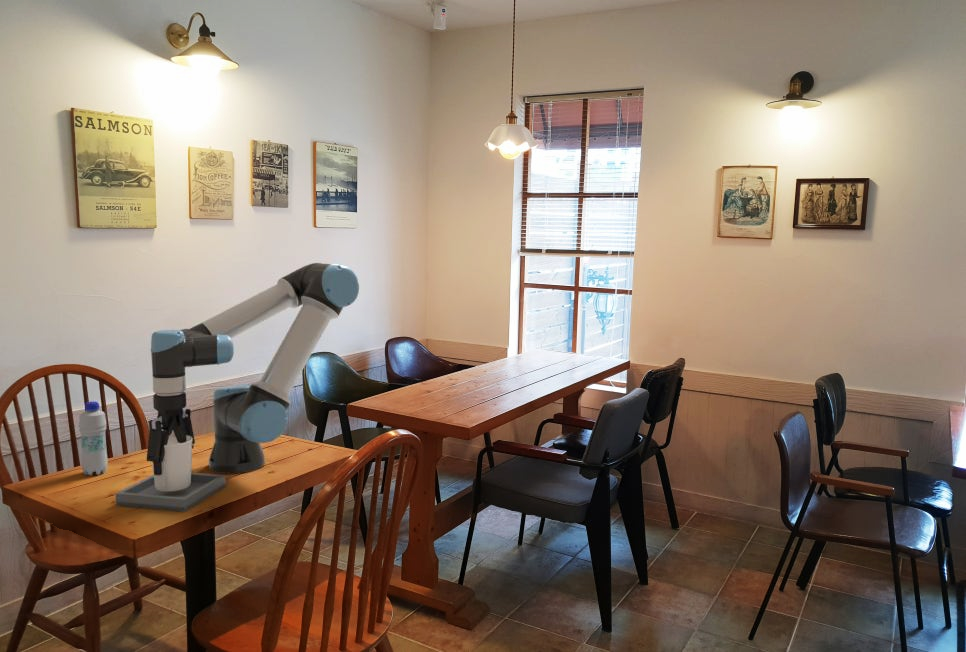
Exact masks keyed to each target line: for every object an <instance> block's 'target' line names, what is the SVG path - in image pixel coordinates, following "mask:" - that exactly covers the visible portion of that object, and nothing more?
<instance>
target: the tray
mask: <svg viewBox="0 0 966 652" xmlns="http://www.w3.org/2000/svg"><path fill="white" fill-rule="evenodd" d="M226 477H227V476H226V475H225V474H215V473H214V474H213V473H212V474H211V473H200V472H191V484H190V486H189V487H187V488H185V489H182V490H178V491H171V492H164V491H158V490H156V488H155V484H154V475H153V474H152V475H150V476H148V477H146V478H144V479H141V480H139V481H137V482H136V483H134V484H132V485H130V486H128V487H125V488H123V489H121V490H120V491H117V492H116V493H115V506H116V507H118V506H119V507H129V508H137V509H138V508H140V509H150V510H160V511H161V510H162V511H171V512H182V513H186V512H187V511H189V510H190V509H192V508H194V507H195V506H197V505H199V504H200V503H202V502H203V501H205V500H206V499H208V498H210V497H211V496H213V495H214V494H217V493H218V492H219V491H221V490H223V489H224V488H226V486H227V483H226V482H227V480H226V479H227V478H226ZM201 501H202V502H201Z"/></svg>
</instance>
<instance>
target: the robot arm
mask: <svg viewBox="0 0 966 652" xmlns="http://www.w3.org/2000/svg"><path fill="white" fill-rule="evenodd" d="M359 290H360V283H359V279H358V276H357V275H356V273H355V272H354V271H353V270H352V269H351V268H350V267H348V266H346V265H342V264H339V263H323V262H322V263H321V262H314V263H309V264H307V265H304V266H302V267H300V268H298V269H296V270H294V271H291V272H290V273H289V274H286V275H284V276H282V277H281V278H279V279H278V280H277V283H276V284H275V285H273V286H271V287H268V288H267V289H265V290H263V291H261V292H259V293H257V294H255V295H253V296H251V297H249V298H247V299H246V300H243V301H242V302H240V303H238V304H235V305H234V306H231V307H229V308H228V309H226V310H224V311H222V312H219V313H218V314H216V315H215V316H212V317H210V318H209V319H206V320H205V321H202V322H201V323H198V324H196V325H194V326H192V327H190V328H182V329H161V330H157V331H154V332H153V333H152V334H151V338H150V339H151V340H150V353H151V355H150V356H151V367H152V368H151V370H152V391H153V393H154V394H153V395H152V403H153V409H154V410H156V411H157V415H156V416H157V417H156V419H154V420H153V419H150V420H149V421H148V426H149V432H148V443H147V449H146V450H147V451H146V462H151V463H152V462H153V465H152V469H153V468H154V479H155V487H162V488H165V487H167V483H166V461H163V459H164V455H165V449H164V445H167V443H168V439H169V435H175V436H176V439H177V441H178V442H179V443H185V442H186V435H187V436H191V437H192V439H193V440H192V450H193V449H194V447H195V446H194V445H195V444H196V440H195V434H194V429H193V424H192V419H191V413H192V412H191V409H190V408H186V407H187V393H186V392H185V391H186V390H187V384H186V383H187V381H186V368H191V367H199V366H203V367H204V366H213V365H217V366H218V365H221V364H227V363H230V362H231V361H232V359H233V357H234V353H235V352H234V350H235V349H234V348H235V347H234V344H233V343H234V342H233V340H232V339H234V337H237V336H238V335H240V334H242V333H243V332H246V331H247V330H249V329H252V328H253V327H256V326H257V325H259V324H261V323H262V322H263V323H264V321H266V320H268V319H271V318H272V317H274V316H275V315H277V314H279V313H281V312H283V311H285V310H287V309H289V308H292V309H297V308H298V307H300V306H301V308H300V310H299V311H298V313H297V315H296V316H295V318H294V320H293V322H292V324H291V325H290V327H289V328H288V331H287V333H286V335H285V336H284V337H283V339H282V342H281V343H280V344H279V347H278V349H277V350H276V352H275V354H274V355H273V357H272V359H271V361H270V362H269V364H268V365H267V368H266V370H265V372H264V373H263V375H262V376H261V378H260V380H259V381H255V382H253V383H251V384H243V385H242V384H241V385H230V386H223V387H219V388H217V389H215V390H214V392H213V399H212V402H213V421H214V423H213V424H214V442H213V446H212V449H211V452H210V455H209V457H208V458H209V459H208V468H209V470H210V471H212V472H214V473H217V474H218V473H220V474H240V473H249V472H251V471H255V470H258V469H260V468H262V467H264V466H265V463H266V462H265V454H264V450H263V448H262V446H261V445H262V444H266V443H270V442H273V441H275V440H276V439H278V438H280V436H281V435H282V434H283V433H284V432H285V430H286V429H287V426H288V423H289V422H288V421H289V418H288V412H287V410H288V408H289V407H290V406H291V403H292V402H291V400H290V394H291V391H292V390H293V388H294V386H295V384H296V382H297V381H298V379H299V378H300V375H301V374H302V372H303V369H304V368H305V366H306V365H307V363H308V361H309V360H310V357H311V355H312V353H313V352H314V350H315V348H316V347H317V344H318V343H319V341H320V340H321V337H322V336H323V333H324V332H325V330H326V329H327V326H328V324H329V323H330V321H331V320H334V319H337V318H339V317H340V314H341V313H342V311H343V309H344V308H347V307H349V306H350V305H352V304H353V303H354V302H355V301H356V300H357V298H358V296H359V294H360V293H359ZM173 433H174V434H173Z"/></svg>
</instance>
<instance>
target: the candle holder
mask: <svg viewBox="0 0 966 652" xmlns="http://www.w3.org/2000/svg"><path fill="white" fill-rule="evenodd" d="M192 440H193V439H192V437H191V436H187V435H186V442H185V443H179V442H178V441H177V439H176V436H175V434H171V435H169V439H168V443H167V445H164V449H165V455H164V459H163V461H166V483H167V487H165V488H162V487H155V488H156V490H158V491H164V492H171V491H178V490H182V489H185V488H187V487H189V486H190V484H191V473H192V465H193V464H192V463H193V461H192V460H193V449H192V445H193V444H192ZM151 464H152V466H153V462H151ZM152 471H153V472H152V475H154V468H153V467H152ZM154 484H155V479H154Z"/></svg>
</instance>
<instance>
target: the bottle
mask: <svg viewBox="0 0 966 652" xmlns="http://www.w3.org/2000/svg"><path fill="white" fill-rule="evenodd" d="M84 409H85V411H84V412H82V413H80V414H79V421H78V428H79V432H80V441H81V444H80V445H81V470H82V473H83V475H85V476H93V474H94V472H95V473H96V475H97V476H99V475H100V474H105V472H106V471H107V469H108V455H107V440H106V437H107V436H106V430H107V419H106V413H105V412H104V411H102V410H100V404H99V402H98V401H96V400H94V401H93V400H91V401H88V402H86V403H85V406H84Z"/></svg>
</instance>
